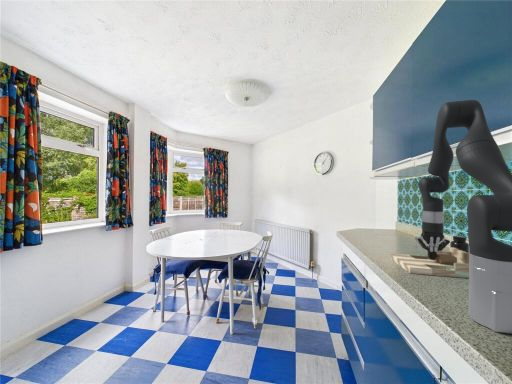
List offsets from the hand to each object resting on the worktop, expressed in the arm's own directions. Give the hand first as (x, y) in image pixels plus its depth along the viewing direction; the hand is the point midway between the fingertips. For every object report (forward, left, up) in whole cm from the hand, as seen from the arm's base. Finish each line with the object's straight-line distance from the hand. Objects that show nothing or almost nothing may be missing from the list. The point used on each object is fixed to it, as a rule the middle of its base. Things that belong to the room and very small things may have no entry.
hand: (431, 259), depth 95 cm
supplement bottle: (+16, -20, -4) cm, 26 cm away
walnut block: (0, -5, -1) cm, 5 cm away
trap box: (0, 0, -4) cm, 4 cm away
